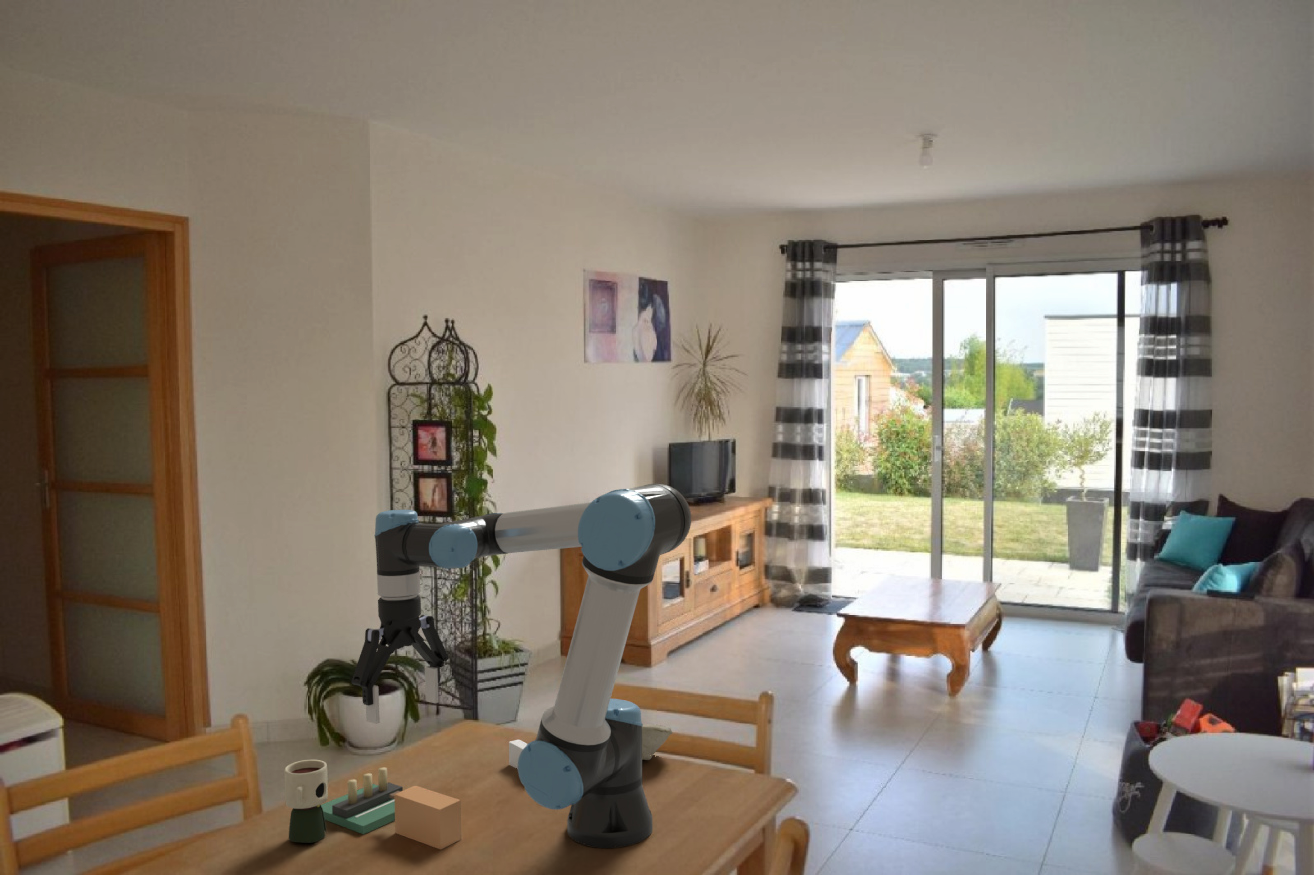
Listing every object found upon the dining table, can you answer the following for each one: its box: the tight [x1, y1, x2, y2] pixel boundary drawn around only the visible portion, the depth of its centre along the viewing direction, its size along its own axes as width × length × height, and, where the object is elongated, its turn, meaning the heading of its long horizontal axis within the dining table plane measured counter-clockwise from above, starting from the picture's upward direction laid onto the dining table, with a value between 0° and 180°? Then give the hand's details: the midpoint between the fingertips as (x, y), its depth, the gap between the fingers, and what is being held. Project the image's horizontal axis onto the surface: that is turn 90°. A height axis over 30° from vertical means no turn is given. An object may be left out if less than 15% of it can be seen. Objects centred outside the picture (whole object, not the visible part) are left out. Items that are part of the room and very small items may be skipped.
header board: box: [320, 766, 404, 835], centre depth 192 cm, size 14×14×7 cm
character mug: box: [283, 759, 329, 844], centre depth 181 cm, size 11×7×13 cm, turn 5°
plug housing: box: [389, 785, 462, 850], centre depth 183 cm, size 5×15×7 cm, turn 55°
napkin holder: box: [508, 739, 528, 770], centre depth 211 cm, size 15×11×6 cm
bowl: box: [642, 723, 673, 761], centre depth 217 cm, size 15×14×10 cm
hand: (403, 711), depth 188 cm, fingers open, 13 cm apart
